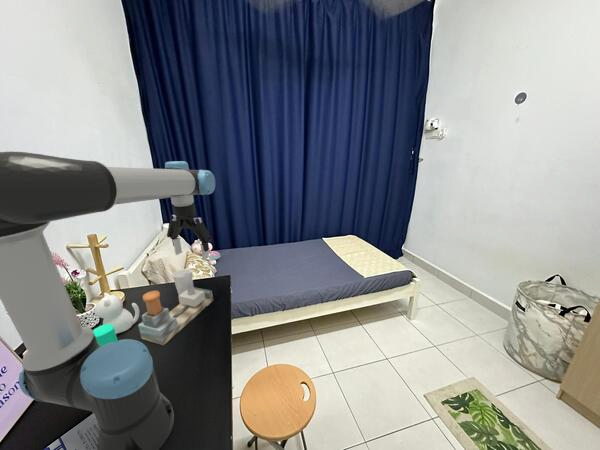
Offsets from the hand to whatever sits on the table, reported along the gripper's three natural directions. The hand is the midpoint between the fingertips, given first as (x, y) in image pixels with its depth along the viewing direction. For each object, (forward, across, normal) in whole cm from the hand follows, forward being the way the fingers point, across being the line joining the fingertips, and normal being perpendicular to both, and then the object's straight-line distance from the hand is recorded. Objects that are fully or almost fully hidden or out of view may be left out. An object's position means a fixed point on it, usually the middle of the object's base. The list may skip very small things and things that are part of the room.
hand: (192, 256), depth 98 cm
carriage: (+20, +2, +2) cm, 21 cm away
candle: (+24, +9, +31) cm, 40 cm away
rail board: (+24, +2, +9) cm, 25 cm away
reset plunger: (+14, +2, +19) cm, 23 cm away
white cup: (+24, +14, -6) cm, 29 cm away
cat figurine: (+24, +19, +21) cm, 36 cm away
